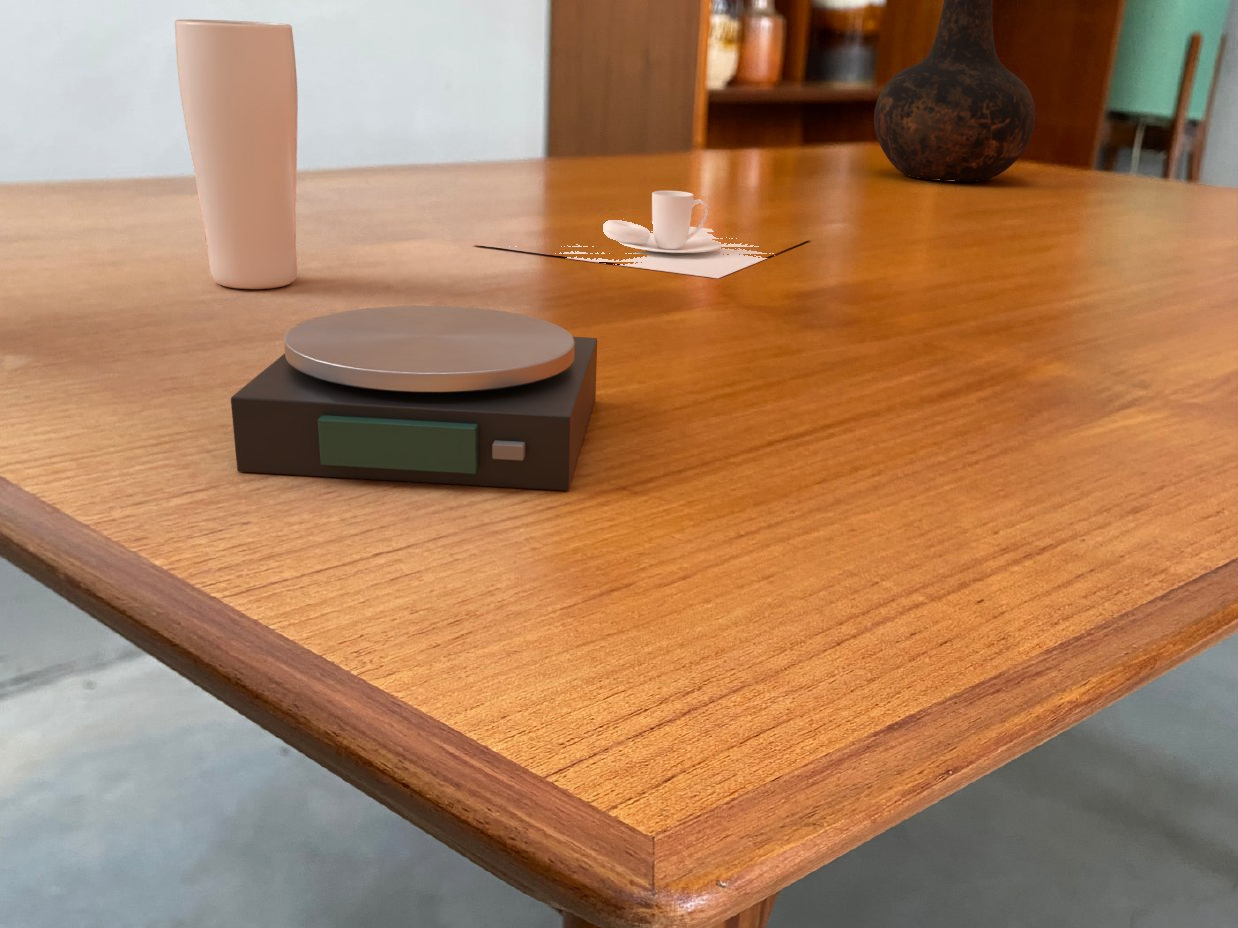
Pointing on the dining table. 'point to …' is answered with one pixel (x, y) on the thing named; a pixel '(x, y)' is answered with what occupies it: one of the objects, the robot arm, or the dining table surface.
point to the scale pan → (429, 349)
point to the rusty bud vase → (956, 104)
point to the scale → (417, 429)
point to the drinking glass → (242, 145)
